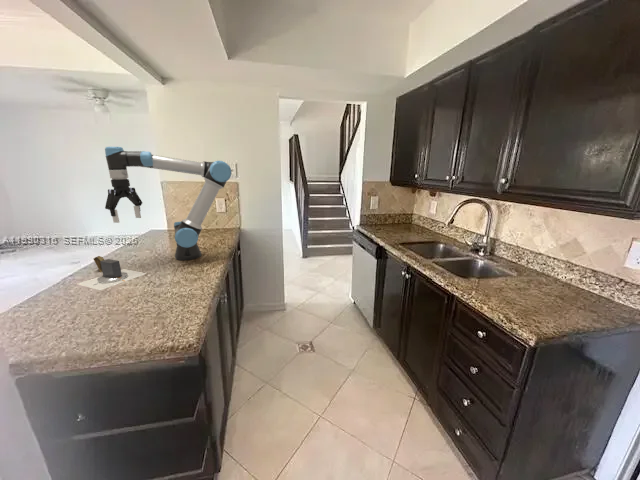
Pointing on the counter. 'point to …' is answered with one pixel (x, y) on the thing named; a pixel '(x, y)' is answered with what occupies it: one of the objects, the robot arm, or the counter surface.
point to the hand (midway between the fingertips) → (128, 220)
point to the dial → (111, 272)
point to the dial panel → (100, 286)
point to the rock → (98, 262)
